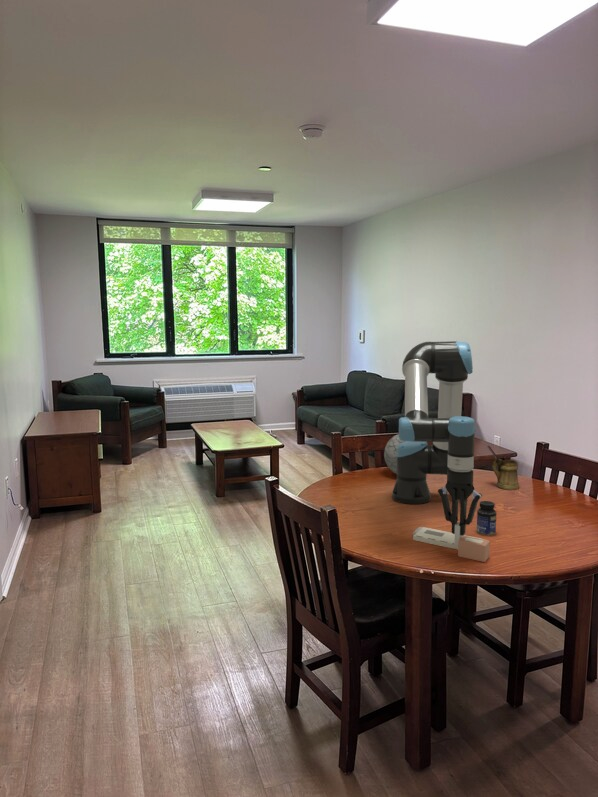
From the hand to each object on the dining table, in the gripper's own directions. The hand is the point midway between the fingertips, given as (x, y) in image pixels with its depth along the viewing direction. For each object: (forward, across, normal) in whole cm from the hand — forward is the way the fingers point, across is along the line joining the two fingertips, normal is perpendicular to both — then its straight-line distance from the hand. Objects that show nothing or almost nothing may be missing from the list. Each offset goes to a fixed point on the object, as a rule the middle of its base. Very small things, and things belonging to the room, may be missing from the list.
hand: (458, 544), depth 172 cm
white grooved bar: (+3, -6, +7) cm, 10 cm away
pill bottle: (+4, +2, +22) cm, 22 cm away
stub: (+3, +5, 0) cm, 5 cm away
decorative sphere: (+4, -49, +75) cm, 89 cm away
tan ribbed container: (+4, -7, +80) cm, 80 cm away
